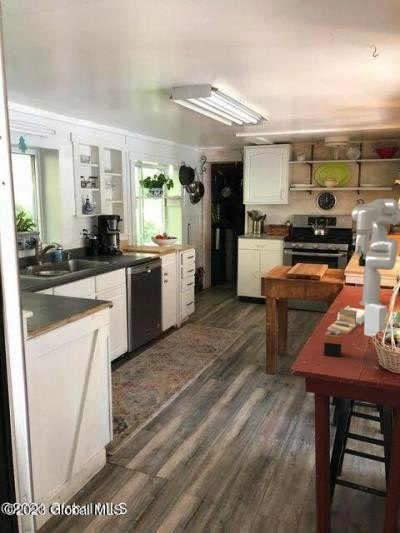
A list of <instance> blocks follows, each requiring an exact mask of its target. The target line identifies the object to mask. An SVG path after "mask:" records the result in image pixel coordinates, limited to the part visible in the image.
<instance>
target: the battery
mask: <svg viewBox="0 0 400 533" xmlns="http://www.w3.org/2000/svg"><path fill="white" fill-rule="evenodd" d="M342 339H343V333H341V332H338V331H337V332H336V331H330V330H327V331H325V333H324V338H323V340H324V342H323V343H324V344H323V355H324V356H328V357H335V358H340V357H341V356H342V342H343V341H342Z"/></svg>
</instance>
